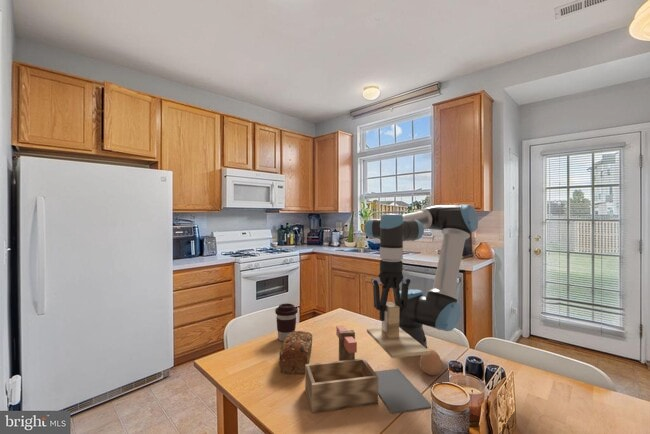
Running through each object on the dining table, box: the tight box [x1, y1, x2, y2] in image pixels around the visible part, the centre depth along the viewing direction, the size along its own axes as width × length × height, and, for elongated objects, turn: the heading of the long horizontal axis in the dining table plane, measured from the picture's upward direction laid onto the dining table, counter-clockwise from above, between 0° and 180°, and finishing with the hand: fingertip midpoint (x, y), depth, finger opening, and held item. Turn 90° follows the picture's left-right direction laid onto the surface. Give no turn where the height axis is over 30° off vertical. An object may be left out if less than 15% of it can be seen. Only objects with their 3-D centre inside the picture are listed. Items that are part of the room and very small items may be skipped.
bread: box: [278, 330, 313, 376], centre depth 115 cm, size 19×11×10 cm, turn 176°
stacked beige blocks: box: [366, 301, 430, 359], centre depth 98 cm, size 20×12×11 cm, turn 13°
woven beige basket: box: [304, 329, 379, 414], centre depth 98 cm, size 20×22×14 cm
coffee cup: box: [274, 303, 298, 342], centre depth 137 cm, size 10×10×15 cm
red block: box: [335, 324, 358, 354], centre depth 110 cm, size 3×16×4 cm, turn 13°
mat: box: [373, 368, 432, 414], centre depth 98 cm, size 13×22×1 cm, turn 13°
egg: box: [419, 348, 443, 376], centre depth 107 cm, size 7×7×8 cm
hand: (390, 329), depth 101 cm, fingers closed on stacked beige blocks, 3 cm apart
